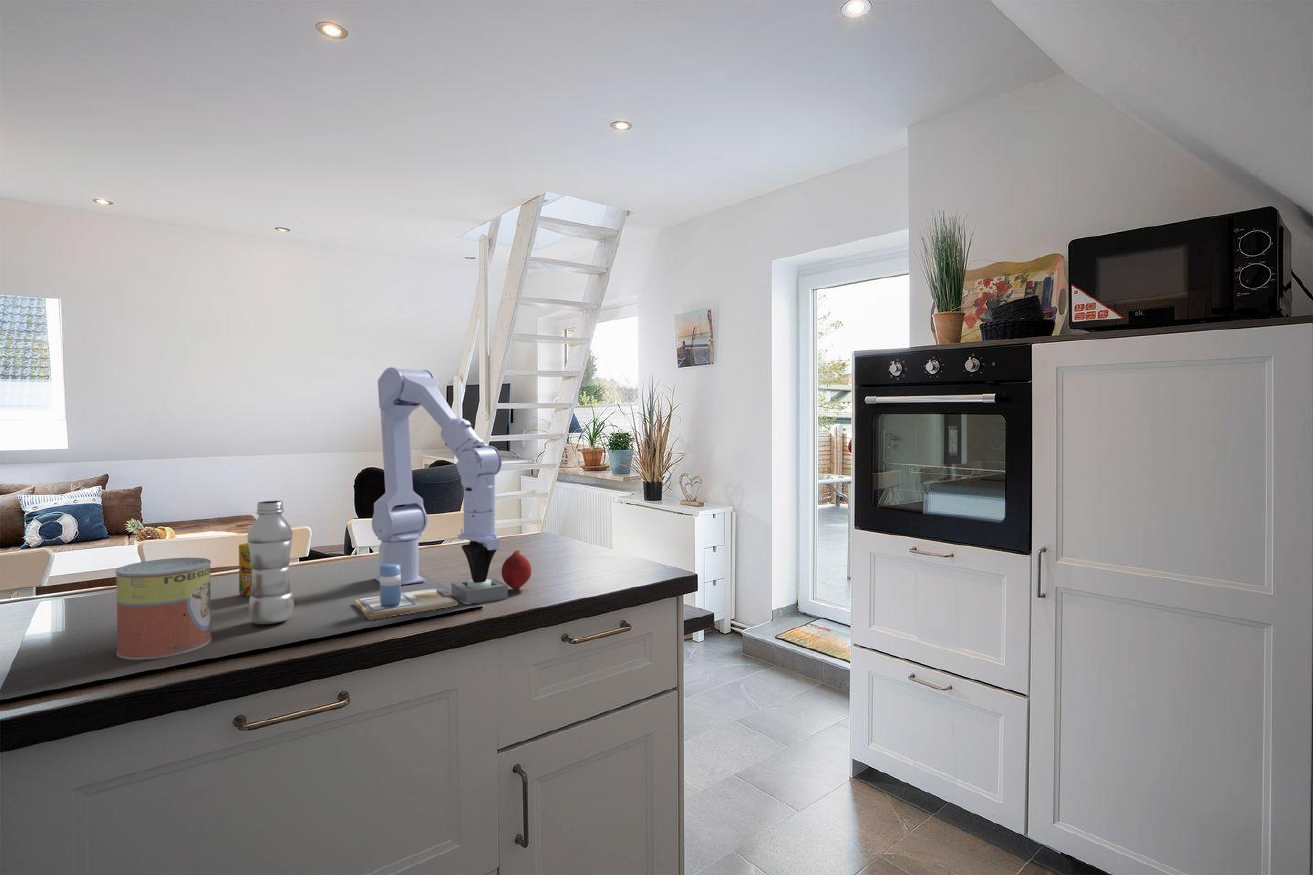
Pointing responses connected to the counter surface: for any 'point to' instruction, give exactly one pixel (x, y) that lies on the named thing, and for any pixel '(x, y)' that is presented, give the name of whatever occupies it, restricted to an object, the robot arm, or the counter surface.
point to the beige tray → (406, 603)
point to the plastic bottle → (270, 565)
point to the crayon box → (245, 570)
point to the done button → (478, 584)
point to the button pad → (479, 591)
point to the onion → (516, 570)
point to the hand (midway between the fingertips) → (479, 581)
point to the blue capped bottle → (390, 585)
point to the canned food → (163, 608)
